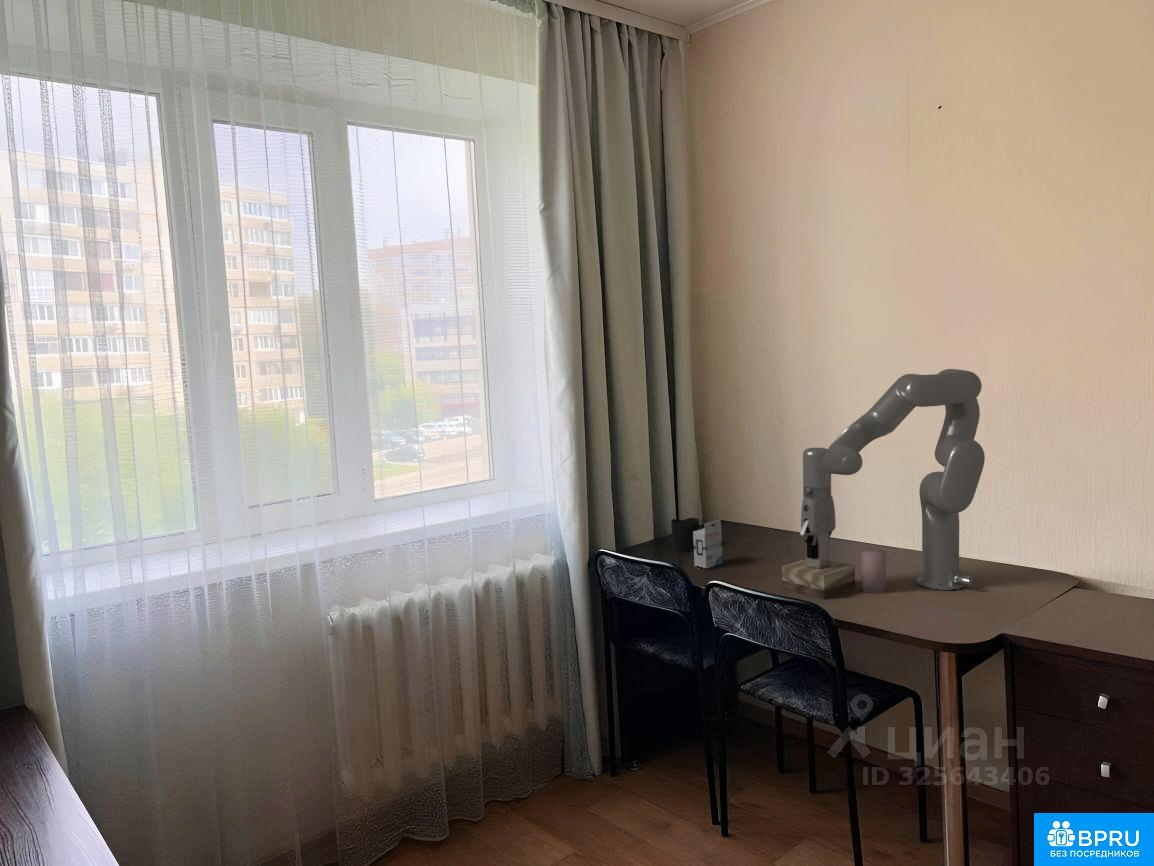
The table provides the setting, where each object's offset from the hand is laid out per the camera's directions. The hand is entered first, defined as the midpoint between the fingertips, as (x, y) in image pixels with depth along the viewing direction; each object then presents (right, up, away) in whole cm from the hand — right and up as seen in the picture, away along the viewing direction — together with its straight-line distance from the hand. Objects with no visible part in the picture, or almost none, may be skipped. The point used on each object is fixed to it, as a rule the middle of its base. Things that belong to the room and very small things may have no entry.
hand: (817, 555), depth 237 cm
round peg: (+15, -9, -3) cm, 17 cm away
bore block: (+1, -9, +1) cm, 9 cm away
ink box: (-26, -8, +29) cm, 40 cm away
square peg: (0, -4, 0) cm, 4 cm away
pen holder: (-30, -5, +51) cm, 60 cm away
